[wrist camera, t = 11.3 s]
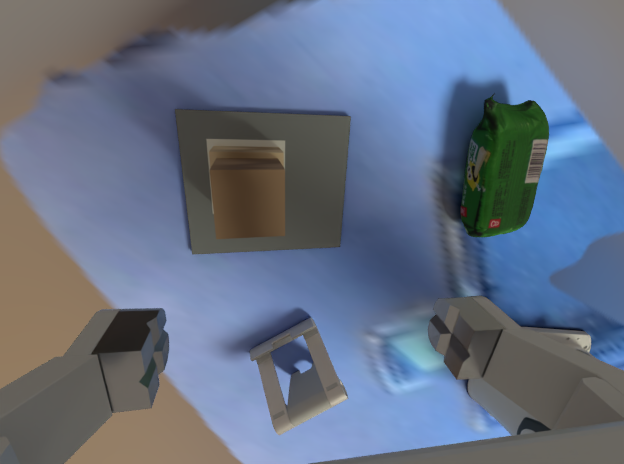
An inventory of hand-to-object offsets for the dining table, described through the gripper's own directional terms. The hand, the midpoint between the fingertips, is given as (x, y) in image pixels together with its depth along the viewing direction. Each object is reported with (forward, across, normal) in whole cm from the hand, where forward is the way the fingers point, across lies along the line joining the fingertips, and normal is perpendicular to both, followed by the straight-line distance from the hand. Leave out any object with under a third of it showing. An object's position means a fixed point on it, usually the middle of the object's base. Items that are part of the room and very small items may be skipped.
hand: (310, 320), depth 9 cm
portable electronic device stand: (+23, -4, +24) cm, 34 cm away
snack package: (+24, -25, 0) cm, 35 cm away
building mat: (+23, 0, +2) cm, 23 cm away
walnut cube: (+19, +2, +1) cm, 19 cm away
